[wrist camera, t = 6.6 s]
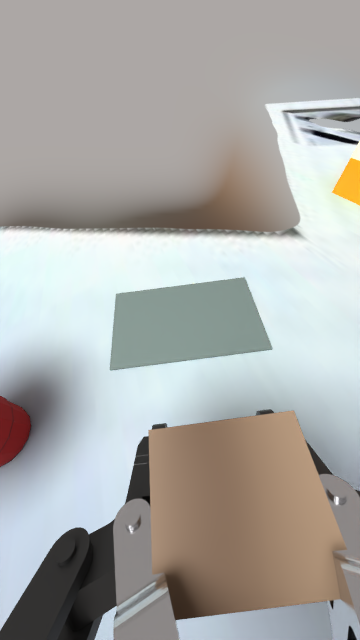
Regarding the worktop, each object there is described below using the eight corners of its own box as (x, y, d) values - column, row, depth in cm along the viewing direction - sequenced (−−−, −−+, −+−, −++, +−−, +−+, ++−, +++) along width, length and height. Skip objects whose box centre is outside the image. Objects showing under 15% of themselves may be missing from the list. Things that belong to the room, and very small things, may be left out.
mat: (244, 278, 31) (244, 277, 30) (271, 349, 24) (272, 348, 24) (116, 294, 31) (116, 293, 30) (110, 370, 24) (109, 369, 24)
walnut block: (242, 426, 14) (293, 410, 7) (261, 499, 12) (365, 596, 5) (175, 435, 14) (148, 430, 7) (181, 509, 12) (153, 623, 5)
